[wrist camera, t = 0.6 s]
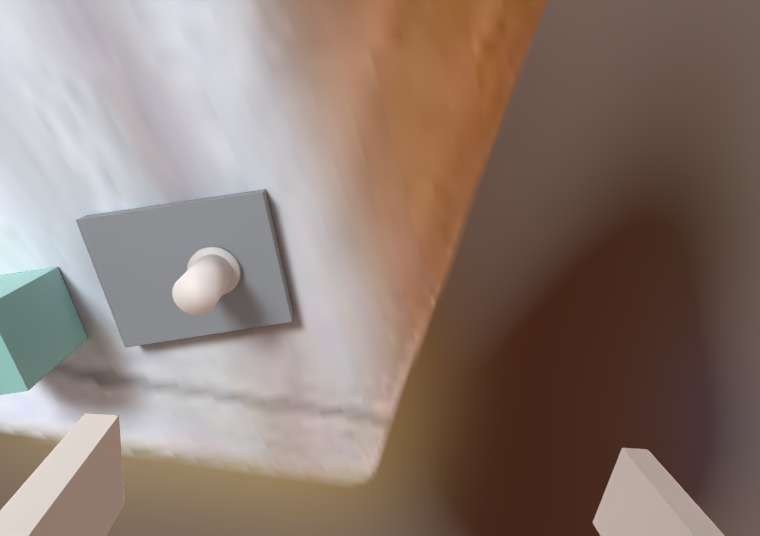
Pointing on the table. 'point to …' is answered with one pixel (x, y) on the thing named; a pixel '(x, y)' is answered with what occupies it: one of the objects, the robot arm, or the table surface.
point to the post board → (189, 267)
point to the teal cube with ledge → (35, 327)
